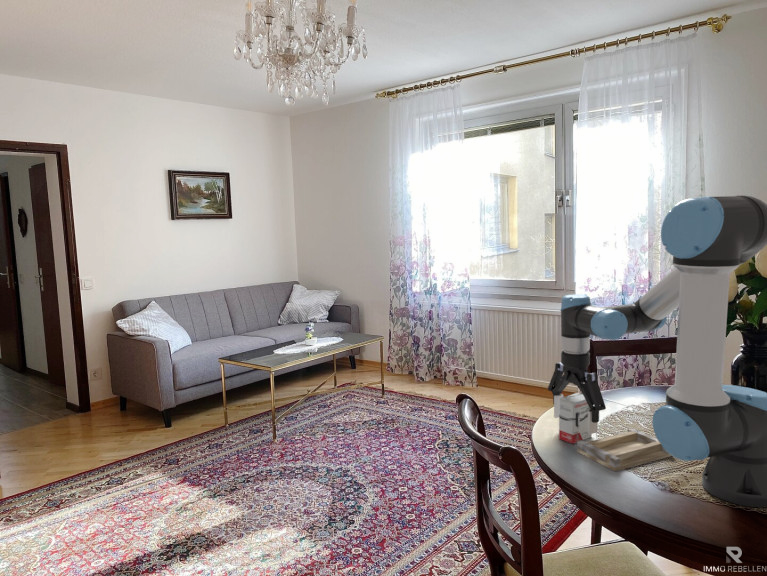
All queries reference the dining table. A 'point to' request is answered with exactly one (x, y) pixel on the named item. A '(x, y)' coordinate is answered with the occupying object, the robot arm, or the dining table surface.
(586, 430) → the ink box
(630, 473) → the dining table surface
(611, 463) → the wooden tray
